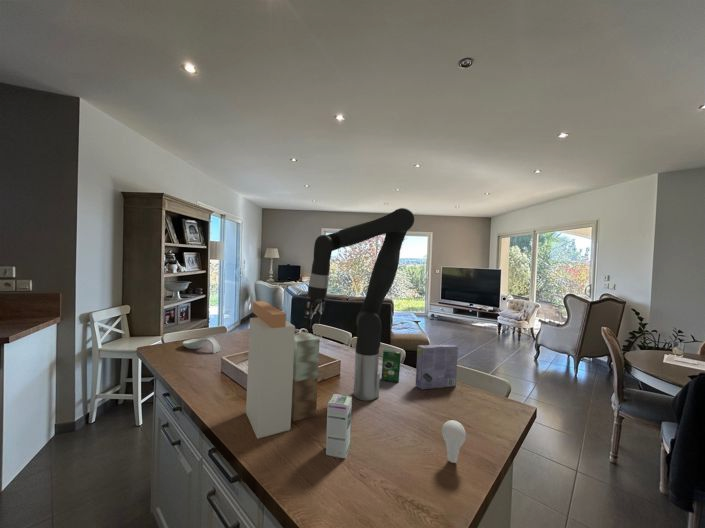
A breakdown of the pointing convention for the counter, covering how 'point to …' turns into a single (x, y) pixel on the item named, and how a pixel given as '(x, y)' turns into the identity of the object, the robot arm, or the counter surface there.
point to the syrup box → (338, 425)
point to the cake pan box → (436, 366)
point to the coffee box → (391, 365)
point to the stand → (270, 377)
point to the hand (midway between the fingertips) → (312, 325)
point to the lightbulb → (453, 438)
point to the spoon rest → (201, 343)
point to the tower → (305, 376)
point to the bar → (269, 314)
